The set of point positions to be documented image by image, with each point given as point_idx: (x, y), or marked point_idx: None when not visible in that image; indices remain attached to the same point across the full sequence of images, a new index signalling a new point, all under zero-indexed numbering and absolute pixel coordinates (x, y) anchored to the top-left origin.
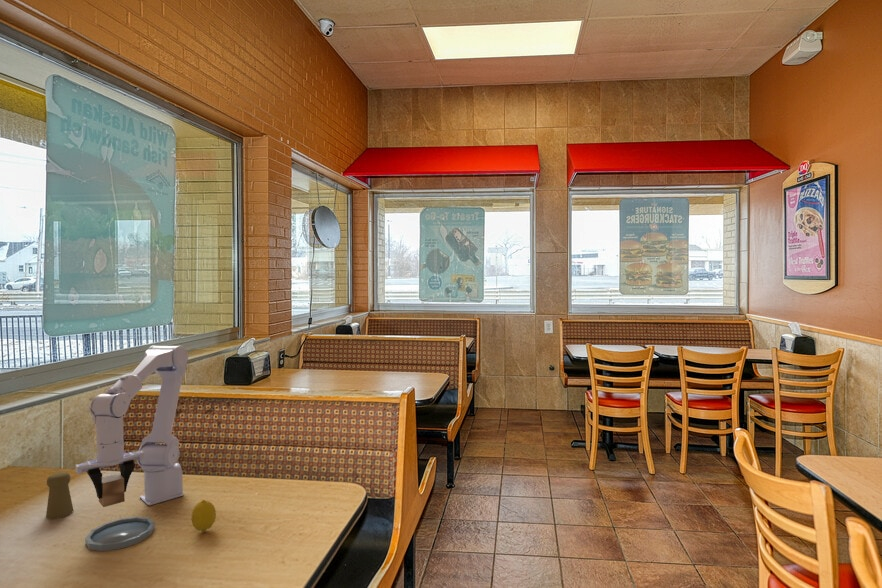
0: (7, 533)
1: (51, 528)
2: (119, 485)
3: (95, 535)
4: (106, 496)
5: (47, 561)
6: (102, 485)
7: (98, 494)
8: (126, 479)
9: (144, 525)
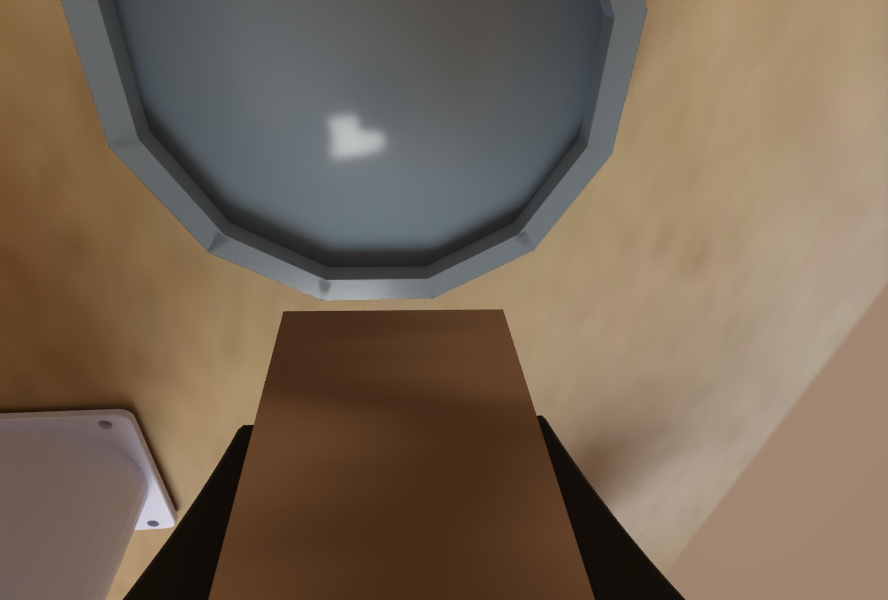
0: (723, 496)
1: (607, 447)
2: (310, 502)
3: (520, 190)
4: (490, 395)
5: (862, 48)
6: (573, 568)
7: (569, 460)
8: (167, 597)
9: (168, 73)
